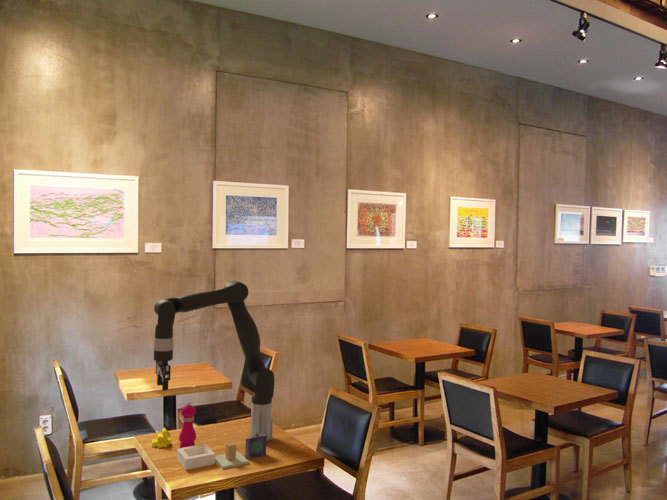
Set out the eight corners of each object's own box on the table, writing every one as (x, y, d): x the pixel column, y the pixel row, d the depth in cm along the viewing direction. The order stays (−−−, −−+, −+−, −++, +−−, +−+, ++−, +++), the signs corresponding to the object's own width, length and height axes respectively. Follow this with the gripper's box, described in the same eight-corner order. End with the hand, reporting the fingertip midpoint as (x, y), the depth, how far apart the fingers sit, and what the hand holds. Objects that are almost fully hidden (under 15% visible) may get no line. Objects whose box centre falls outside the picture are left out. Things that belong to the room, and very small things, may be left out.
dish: (205, 454, 218) (205, 443, 218) (214, 464, 208) (215, 453, 208) (176, 459, 211) (177, 448, 211) (185, 471, 201) (185, 459, 201)
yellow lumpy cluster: (151, 444, 227) (151, 426, 227) (170, 441, 231) (170, 424, 230) (152, 449, 222) (153, 431, 222) (171, 446, 225) (172, 428, 225)
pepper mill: (191, 451, 220) (192, 405, 220) (175, 449, 221) (176, 403, 221) (198, 445, 227) (200, 400, 227) (183, 443, 228) (185, 398, 228)
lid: (238, 453, 218) (238, 437, 218) (248, 463, 209) (248, 446, 209) (213, 458, 212) (213, 441, 212) (222, 469, 203) (222, 451, 203)
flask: (246, 460, 213) (247, 434, 213) (243, 457, 216) (244, 432, 216) (266, 456, 218) (267, 431, 218) (264, 453, 220) (264, 428, 220)
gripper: (177, 351, 208) (176, 391, 208) (168, 344, 220) (167, 382, 220) (158, 352, 204) (157, 393, 204) (150, 346, 216) (149, 384, 216)
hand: (162, 387), depth 212 cm, fingers open, 8 cm apart
